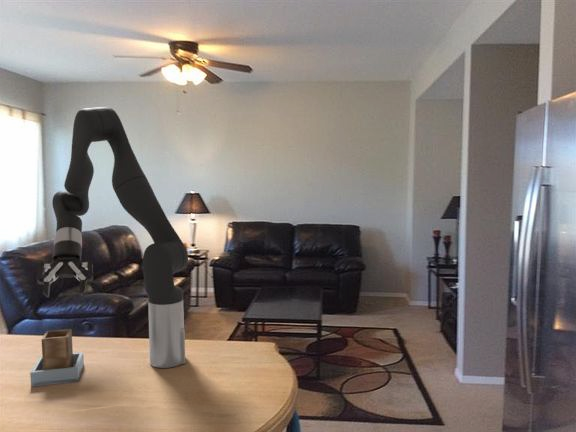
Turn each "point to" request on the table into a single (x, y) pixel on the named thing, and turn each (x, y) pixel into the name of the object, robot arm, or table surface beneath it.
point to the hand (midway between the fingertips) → (64, 295)
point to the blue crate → (57, 372)
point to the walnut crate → (57, 349)
